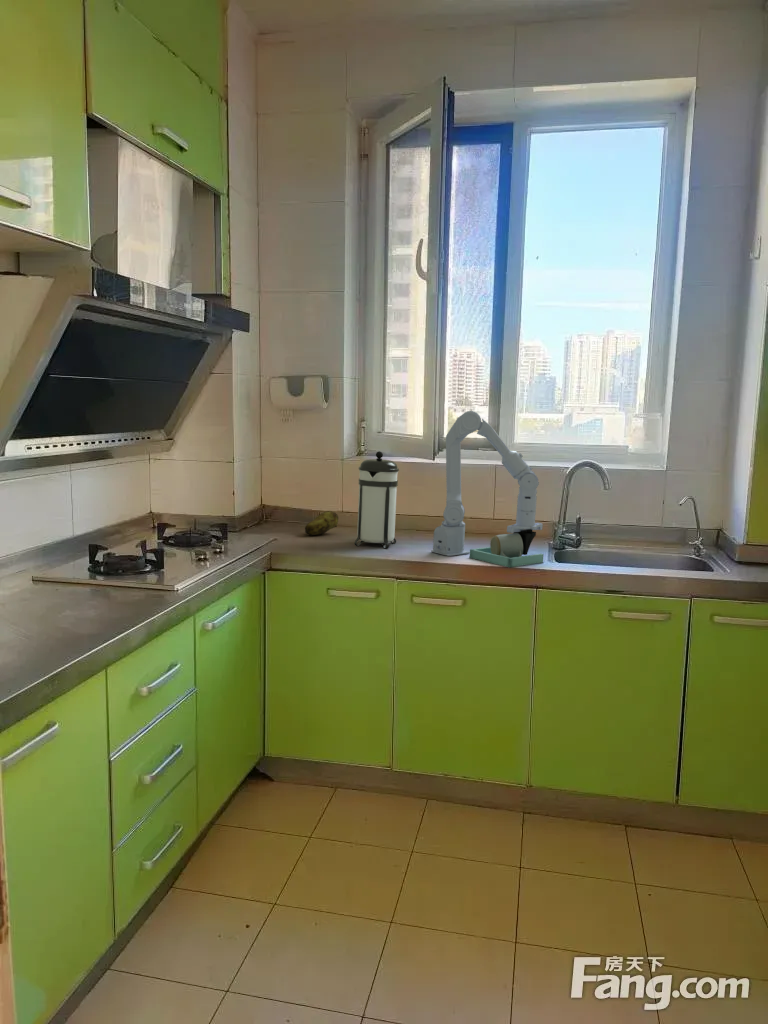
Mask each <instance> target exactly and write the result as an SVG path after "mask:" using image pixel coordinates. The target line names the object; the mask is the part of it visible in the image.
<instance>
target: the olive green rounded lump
mask: <svg viewBox="0 0 768 1024" xmlns="http://www.w3.org/2000/svg"><path fill="white" fill-rule="evenodd" d="M338 523H339V515H338V514H337V513H336V512H335V511H331V510H326V511H324V512H321V513H320V514H318V516H316V517H315V518H314V519H313V520H311V521H309V522H308V523H307V524H306V525H305V527H304V531H305V532H304V533H305V534H306V535H307V536H308V535H309V536H318V535H322V534H325V533H327V532H328V531H330V530H332V529H335V528H337V527H338V525H339V524H338Z"/></svg>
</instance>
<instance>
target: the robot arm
mask: <svg viewBox="0 0 768 1024" xmlns="http://www.w3.org/2000/svg"><path fill="white" fill-rule="evenodd" d="M476 431H477V432H476ZM475 432H476V434H477V435H479V436H480V437H484V438H485V439H486V440H487V441H488V442H489V443H490V444H491V446H492V447H493V448H494V449H495V450H496V452H497V453H499V455H500V456H501V465H502V466H504V468H505V469H506V471H507V472H508V473H509V475H511V476H512V478H513V479H514V480H517V484H518V485H519V487H518V495H517V500H516V502H517V503H516V517H515V523H514V524H511V525H507V526H506V533H508V534H512V533H518V534H519V535H520V536H521V538H522V541H523V554H522V556H528V553H529V549H530V546H531V545H532V542H533V540H534V538H535V537H536V535H537V532H536V531H537V530H538V531H542V530H543V525H544V524H543V523H541V522H536V514H537V498H538V496H537V493H538V490H537V488H538V487H539V485H540V482H539V477H538V476H537V475H536V473H535V471H534V470H533V467H532V466H529V465H528V463H527V462H526V461H525V460H524V459H523V454H522V453H521V452H518V451H516V450H510V448H509V447H508V446H507V445H506V443H505V442H504V441H503V439H502V438H501V437H500V436H499V434H498V433H497V432H496V430H495V429H494V428H493V426H492V425H491V424H490V423H489V422H487V421H486V420H485V419H484V418H481V416H480V414H479V413H478V412H476V411H473V410H469V411H465V412H464V413H462V414H461V415H460V416H458V417H457V418H456V420H455V422H454V423H453V425H451V428H450V429H449V430H448V432H447V434H446V435H445V463H446V464H445V467H446V469H445V470H446V471H445V475H446V478H445V480H446V481H445V482H446V499H445V500H446V501H445V502H446V503H445V508H444V511H443V519H444V520H442V521H441V525H439V526H436V528H435V529H434V531H433V539H432V540H433V541H432V543H433V544H432V549H431V550H430V552H431V553H434V554H438V555H439V554H440V555H442V556H447V557H451V556H459V555H466V554H470V551H467V550H464V549H465V534H466V533H465V532H466V523H465V521H463V520H464V518H465V514H466V511H465V507H464V505H463V502H462V459H461V458H462V455H461V453H462V452H461V451H462V448H461V445H462V444H461V442H462V441H464V440H465V439H466V438H467V437H468V435H470V434H473V433H475Z"/></svg>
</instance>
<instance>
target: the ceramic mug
mask: <svg viewBox="0 0 768 1024" xmlns="http://www.w3.org/2000/svg"><path fill="white" fill-rule="evenodd" d="M489 545H490V546H489V547H490V549H491V553H492V554H495V555H500V556H504V557H508V558H513V557H520V556H523V555H522V554H523V541H522V538H521V536H520V535H519V534H518V533H502V534H497V535H494V536H492V538H491V539H490V543H489Z"/></svg>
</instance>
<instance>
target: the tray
mask: <svg viewBox="0 0 768 1024" xmlns="http://www.w3.org/2000/svg"><path fill="white" fill-rule="evenodd" d="M469 552H470V553H469V559H474V560H479V561H483V562H486V563H490V564H494V565H498V566H504V567H506V568H515V567H520V566H527V565H529V566H530V565H535V564H541V563H544V553H535V554H530V555H528V554H527V555H522V556H520V557H513V558H508V557H504V556H500V555H495V554H492V553H491V549H490V546H487V547H479V548H471V549H469Z"/></svg>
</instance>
